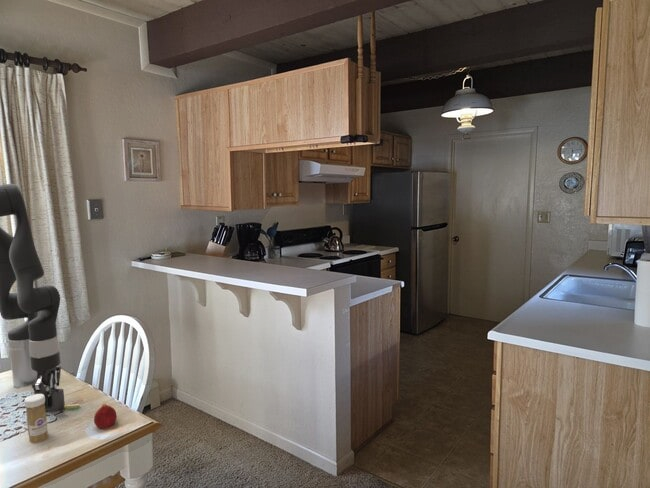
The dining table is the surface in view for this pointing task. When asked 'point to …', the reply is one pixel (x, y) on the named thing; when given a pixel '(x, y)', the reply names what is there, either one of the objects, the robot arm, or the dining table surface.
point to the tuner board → (69, 409)
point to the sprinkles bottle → (36, 418)
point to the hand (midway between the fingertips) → (50, 405)
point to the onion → (105, 417)
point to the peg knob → (58, 401)
